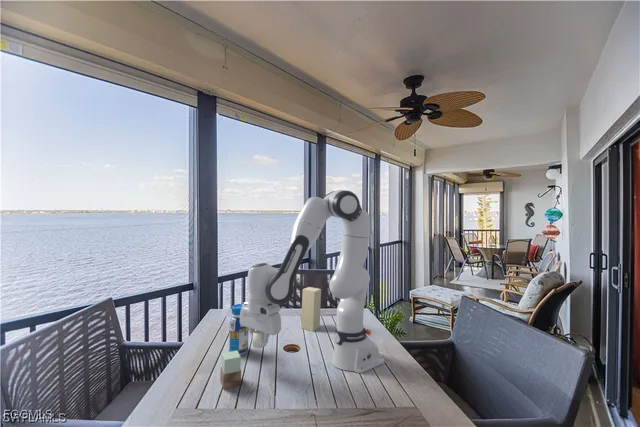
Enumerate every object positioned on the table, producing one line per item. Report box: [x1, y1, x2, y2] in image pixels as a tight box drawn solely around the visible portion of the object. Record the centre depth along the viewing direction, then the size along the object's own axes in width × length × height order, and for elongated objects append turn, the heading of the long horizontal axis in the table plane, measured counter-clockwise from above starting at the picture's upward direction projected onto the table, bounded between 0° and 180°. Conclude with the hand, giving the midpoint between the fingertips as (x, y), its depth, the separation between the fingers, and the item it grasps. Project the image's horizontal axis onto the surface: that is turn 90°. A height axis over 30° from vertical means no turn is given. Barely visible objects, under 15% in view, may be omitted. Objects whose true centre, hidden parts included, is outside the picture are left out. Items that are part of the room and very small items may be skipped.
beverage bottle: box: [228, 303, 250, 356], centre depth 132 cm, size 8×8×20 cm
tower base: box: [219, 366, 242, 390], centre depth 108 cm, size 6×6×5 cm
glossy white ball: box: [252, 330, 267, 349], centre depth 117 cm, size 5×5×5 cm
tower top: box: [221, 351, 242, 374], centre depth 108 cm, size 6×6×5 cm
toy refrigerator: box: [300, 286, 322, 332], centre depth 161 cm, size 8×7×21 cm
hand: (259, 341), depth 117 cm, fingers closed on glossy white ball, 5 cm apart
